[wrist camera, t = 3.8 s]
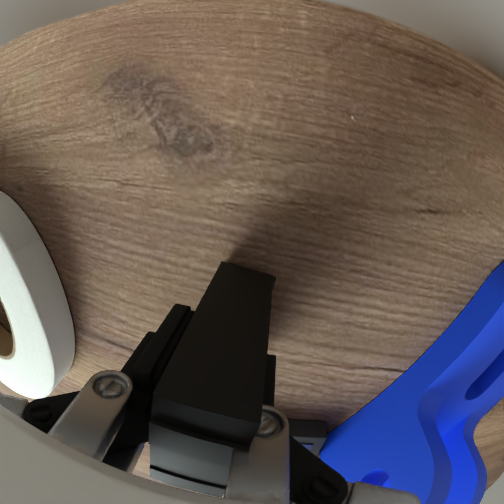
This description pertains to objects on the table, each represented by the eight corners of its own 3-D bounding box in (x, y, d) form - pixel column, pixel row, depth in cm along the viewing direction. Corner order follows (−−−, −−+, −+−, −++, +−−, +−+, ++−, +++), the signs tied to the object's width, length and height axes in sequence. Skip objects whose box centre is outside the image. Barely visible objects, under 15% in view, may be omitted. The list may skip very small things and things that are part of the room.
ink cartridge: (247, 359, 14) (220, 505, 6) (203, 346, 14) (149, 485, 6) (276, 272, 12) (267, 435, 5) (223, 257, 12) (148, 401, 5)
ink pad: (325, 420, 15) (327, 439, 13) (301, 465, 17) (301, 480, 15) (178, 399, 15) (171, 417, 14) (181, 447, 17) (177, 462, 16)
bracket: (390, 461, 16) (408, 549, 8) (318, 439, 16) (324, 558, 7) (553, 296, 11) (624, 359, 2) (521, 223, 10) (638, 286, 2)
